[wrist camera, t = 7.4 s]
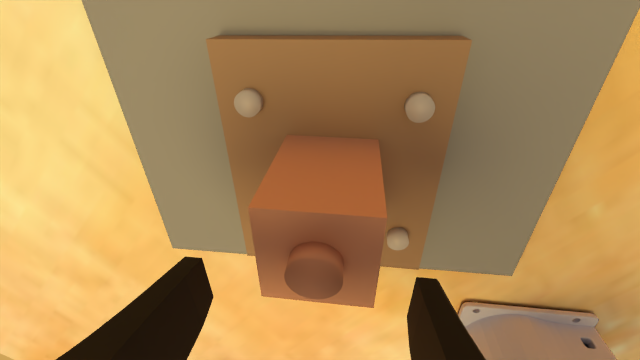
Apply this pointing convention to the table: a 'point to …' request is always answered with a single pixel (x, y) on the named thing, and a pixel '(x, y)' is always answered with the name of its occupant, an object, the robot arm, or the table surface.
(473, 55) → the build base
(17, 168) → the table surface
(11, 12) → the table surface
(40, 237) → the table surface
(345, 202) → the snap block
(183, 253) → the table surface
